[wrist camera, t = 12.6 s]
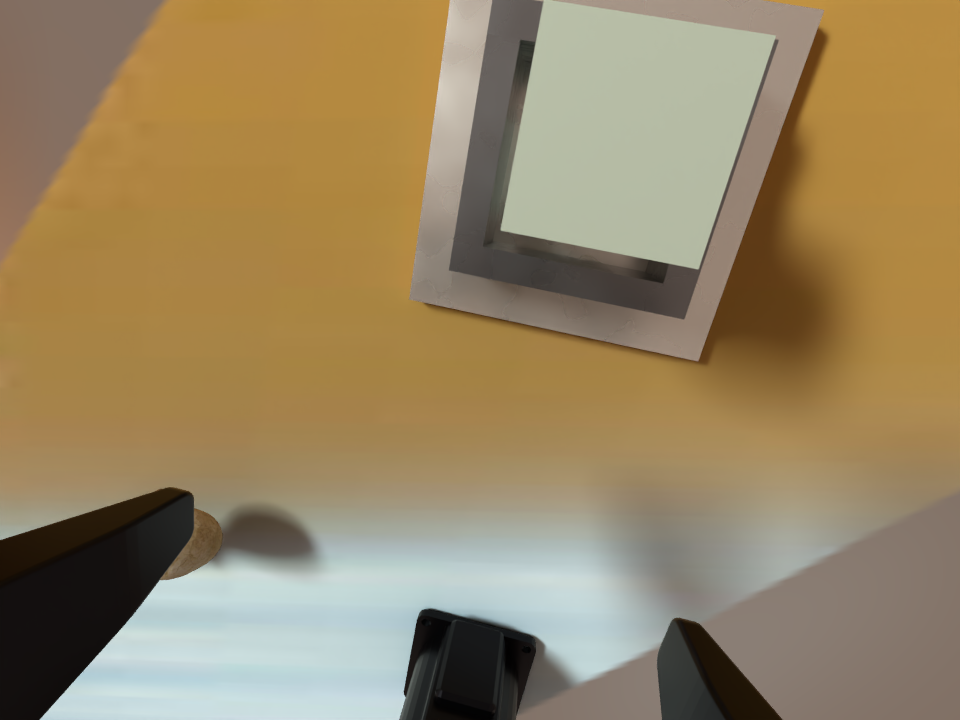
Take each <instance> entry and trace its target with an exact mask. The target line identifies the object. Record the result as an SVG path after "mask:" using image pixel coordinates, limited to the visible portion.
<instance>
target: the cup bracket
mask: <svg viewBox="0 0 960 720" xmlns="http://www.w3.org/2000/svg"><path fill="white" fill-rule="evenodd" d="M553 1H559V2H565V3H572V4H578V5H584V6H591V7H597V8H604V9H610V10H616V11H623V12H629V13H635V14H642V15H648V16H654V17H661V18H667V19H674V20H680V21H686V22H693V23H699V24H705V25H712V26H718V27H724V28H731V29H737V30H744V31H750V32H756V33H763V34H769V35H775V36H776V37H775V40H774V43H773V46H772V49H771V52H770V55H769V58H768V61H767V64H766V67H765V70H764V74H763V77H762V80H761V83H760V86H759V89H758V92H757V95H756V98H755V101H754V104H753V107H752V110H751V113H750V116H749V119H748V122H747V125H746V128H745V131H744V134H743V137H742V140H741V143H740V146H739V149H738V152H737V155H736V158H735V161H734V164H733V167H732V170H731V173H730V176H729V179H728V182H727V185H726V188H725V191H724V194H723V197H722V200H721V203H720V206H719V209H718V212H717V215H716V218H715V221H714V224H713V227H712V230H711V233H710V236H709V239H708V242H707V245H706V248H705V251H704V254H703V257H702V260H701V263H700V266H699V269H694V268H689V267H684V266H678V265H673V264H668V263H663V262H658V261H653V260H648V259H643V258H638V257H633V256H628V255H623V254H617V253H612V252H607V251H602V250H597V249H592V248H587V247H582V246H577V245H572V244H567V243H561V242H556V241H551V240H546V239H541V238H536V237H531V236H526V235H521V234H516V233H511V232H506V231H500V230H501V224H502V219H503V214H504V209H505V203H506V198H507V193H508V187H509V182H510V177H511V171H512V166H513V161H514V156H515V150H516V145H517V140H518V134H519V129H520V124H521V118H522V113H523V108H524V102H525V97H526V92H527V87H528V81H529V76H530V71H531V65H532V60H533V55H534V49H535V44H536V39H537V34H538V28H539V23H540V18H541V12H542V7H543V2H544V0H450V6H449V13H448V20H447V28H446V35H445V42H444V50H443V57H442V64H441V71H440V79H439V86H438V93H437V101H436V108H435V115H434V123H433V130H432V137H431V145H430V152H429V159H428V167H427V174H426V181H425V188H424V196H423V203H422V210H421V218H420V225H419V232H418V240H417V247H416V254H415V262H414V269H413V276H412V283H411V291H410V298H409V299H410V300H415V301H420V302H424V303H429V304H434V305H438V306H443V307H447V308H452V309H457V310H461V311H466V312H471V313H475V314H480V315H485V316H489V317H494V318H499V319H503V320H508V321H513V322H517V323H522V324H526V325H531V326H536V327H540V328H545V329H550V330H554V331H559V332H564V333H568V334H573V335H578V336H582V337H587V338H592V339H596V340H601V341H605V342H610V343H615V344H619V345H624V346H629V347H633V348H638V349H643V350H647V351H652V352H657V353H661V354H666V355H671V356H675V357H680V358H685V359H689V360H694V361H698V360H699V358H700V355H701V352H702V349H703V346H704V344H705V341H706V338H707V335H708V333H709V330H710V327H711V324H712V321H713V319H714V316H715V313H716V310H717V307H718V305H719V302H720V299H721V296H722V294H723V291H724V288H725V285H726V282H727V280H728V277H729V274H730V271H731V268H732V266H733V263H734V260H735V257H736V255H737V252H738V249H739V246H740V243H741V241H742V238H743V235H744V232H745V229H746V227H747V224H748V221H749V218H750V216H751V213H752V210H753V207H754V204H755V202H756V199H757V196H758V193H759V190H760V188H761V185H762V182H763V179H764V177H765V174H766V171H767V168H768V165H769V163H770V160H771V157H772V154H773V151H774V149H775V146H776V143H777V140H778V138H779V135H780V132H781V129H782V126H783V124H784V121H785V118H786V115H787V112H788V110H789V107H790V104H791V101H792V99H793V96H794V93H795V90H796V87H797V85H798V82H799V79H800V76H801V73H802V71H803V68H804V65H805V62H806V60H807V57H808V54H809V51H810V48H811V46H812V43H813V40H814V37H815V34H816V32H817V29H818V26H819V23H820V21H821V18H822V15H823V12H824V10H821V9H815V8H808V7H802V6H795V5H789V4H783V3H776V2H770V1H763V0H553Z"/></svg>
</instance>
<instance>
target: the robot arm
mask: <svg viewBox="0 0 960 720" xmlns="http://www.w3.org/2000/svg"><path fill="white" fill-rule="evenodd" d="M193 531H194V497H193V495H192V493H190V492H189V491H186V490H182V489H178V488H173V487H168V488H165V489H162V490H158V491H155V492H152V493H149V494H146V495H142V496H139V497H136V498H133V499H130V500H127V501H123V502H120V503H117V504H114V505H111V506H107V507H104V508H101V509H98V510H95V511H92V512H88V513H85V514H82V515H79V516H76V517H72V518H69V519H66V520H63V521H60V522H57V523H53V524H50V525H47V526H44V527H41V528H37V529H34V530H31V531H28V532H25V533H22V534H18V535H15V536H12V537H9V538H6V539H2V540H0V720H40V719H41V717H42V716H43V715H44V714H45V713H46V712H47V711H48V710H49V708H50V707H51V706H52V705H53V704H54V703H55V702H56V701H57V700H58V698H59V697H60V696H61V695H62V694H63V693H64V692H65V691H66V690H67V688H68V687H69V686H70V685H71V684H72V683H73V682H74V681H75V680H76V678H77V677H78V676H79V675H80V674H81V673H82V672H83V671H84V669H85V668H86V667H87V666H88V665H89V664H90V663H91V662H92V661H93V659H94V658H95V657H96V656H97V655H98V654H99V653H100V652H101V651H102V649H103V648H104V647H105V646H106V645H107V644H108V643H109V642H110V641H111V639H112V638H113V637H114V636H115V635H116V634H117V633H118V632H119V630H120V629H121V628H122V627H123V626H124V625H125V624H126V622H127V621H128V620H129V619H130V618H131V617H132V615H133V614H134V613H135V612H136V610H137V609H138V608H139V607H140V605H141V604H142V603H143V602H144V600H145V599H146V598H147V596H148V595H149V594H150V592H151V591H152V590H153V588H154V587H155V586H156V584H157V583H158V582H159V580H160V579H161V578H162V576H163V575H164V574H165V572H166V571H167V570H168V568H169V567H170V566H171V564H172V563H173V562H174V560H175V559H176V558H177V556H178V555H179V554H180V552H181V551H182V550H183V548H184V547H185V546H186V544H187V543H188V542H189V540H190V538H191V537H192V534H193ZM426 619H428V620H426ZM526 646H528V647H526ZM535 653H536V642H535V640H534V639H533V638H532V637H530V636H526V635H523V634H519V633H515V632H511V631H508V630H504V629H500V628H496V627H493V626H489V625H485V624H481V623H477V622H474V621H470V620H466V619H462V618H459V617H455V616H451V615H447V614H444V613H440V612H436V611H432V610H428V609H425V610H422V611H420V613H419V616H418V619H417V623H416V628H415V634H414V639H413V645H412V650H411V655H410V661H409V666H408V672H407V677H406V683H405V688H404V695H405V697H406V698H405V702H404V705H403V709H402V712H401V715H400V719H399V720H516V715H517V712H518V709H519V705H520V702H521V699H522V695H523V692H524V689H525V686H526V682H527V679H528V676H529V672H530V669H531V666H532V662H533V659H534V656H535ZM657 669H658V679H659V691H660V702H661V713H662V720H782V719H781V717H780V716H779V715H778V714H777V713H776V712H775V710H774V709H773V708H772V707H771V706H770V705H769V703H768V702H767V701H766V700H765V699H764V698H763V696H762V695H761V694H760V693H759V692H758V691H757V689H756V688H755V687H754V686H753V685H752V684H751V683H750V681H749V680H748V679H747V678H746V677H745V676H744V674H743V673H742V672H741V671H740V670H739V669H738V667H737V666H736V665H735V664H734V663H733V662H732V661H731V659H730V658H729V657H728V656H727V655H726V654H725V653H724V651H723V650H722V649H721V648H720V647H719V645H718V644H717V643H716V642H715V641H714V640H713V638H712V637H711V636H710V635H709V634H708V633H707V632H706V631H705V629H704V628H703V627H702V626H701V625H700V624H698V623H696V622H693V621H689V620H686V619H682V618H674V619H673V620H672V621H671V623H670V625H669V627H668V630H667V632H666V635H665V637H664V639H663V642H662V644H661V647H660V649H659V652H658V658H657Z"/></svg>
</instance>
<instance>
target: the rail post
mask: <svg viewBox="0 0 960 720" xmlns="http://www.w3.org/2000/svg"><path fill="white" fill-rule="evenodd" d="M775 37H776V36H775V35H769V34H763V33H756V32H750V31H744V30H737V29H731V28H724V27H718V26H712V25H705V24H699V23H693V22H686V21H680V20H674V19H667V18H661V17H654V16H648V15H642V14H635V13H629V12H623V11H616V10H610V9H604V8H597V7H591V6H584V5H578V4H572V3H565V2H559V1H553V0H544V2H543V7H542V12H541V18H540V23H539V28H538V34H537V39H536V44H535V49H534V55H533V60H532V65H531V71H530V76H529V81H528V87H527V92H526V97H525V102H524V108H523V113H522V118H521V124H520V129H519V134H518V140H517V145H516V150H515V156H514V161H513V166H512V171H511V177H510V182H509V187H508V193H507V198H506V203H505V209H504V214H503V219H502V224H501V230H500V231H506V232H511V233H516V234H521V235H526V236H531V237H536V238H541V239H546V240H551V241H556V242H561V243H567V244H572V245H577V246H582V247H587V248H592V249H597V250H602V251H607V252H612V253H617V254H623V255H628V256H633V257H638V258H643V259H648V260H653V261H658V262H663V263H668V264H673V265H678V266H684V267H689V268H694V269H699V266H700V263H701V260H702V257H703V254H704V251H705V248H706V245H707V242H708V239H709V236H710V233H711V230H712V227H713V224H714V221H715V218H716V215H717V212H718V209H719V206H720V203H721V200H722V197H723V194H724V191H725V188H726V185H727V182H728V179H729V176H730V173H731V170H732V167H733V164H734V161H735V158H736V155H737V152H738V149H739V146H740V143H741V140H742V137H743V134H744V131H745V128H746V125H747V122H748V119H749V116H750V113H751V110H752V107H753V104H754V101H755V98H756V95H757V92H758V89H759V86H760V83H761V80H762V77H763V74H764V70H765V67H766V64H767V61H768V58H769V55H770V52H771V49H772V46H773V43H774V40H775Z"/></svg>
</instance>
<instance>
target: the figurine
mask: <svg viewBox="0 0 960 720" xmlns="http://www.w3.org/2000/svg"><path fill="white" fill-rule="evenodd" d="M159 490H162V489H159ZM157 491H158V490H157ZM222 538H223V534H222V530H221V528H220V526H219V524H218V522H217V521H216V520H215V518H214V517H212V516H211V515H210V514H208V513H206V512H203V511H201V510H198V509H195V508H194V531H193V534H192V537H191V538H190V540H189V542H188V543H187V544H186V546H185V547H184V548H183V550H182V551H181V552H180V554H179V555H178V556H177V558H176V559H175V560H174V562H173V563H172V564H171V566H170V567H169V568H168V570H167V571H166V572H165V574H164V575H163V576H162V578H161V579H160V580H170V579H174V578H178V577H181V576H184V575H186V574H188V573H190V572H192V571H194V570H196V569H198V568H200V567H201V566H203V565H205V564H207V563H208V562H209V561H210V560H211V559H212V558H213V557H214V556H215V555H216V554H217V552H218V551H219V549H220V547H221V544H222Z"/></svg>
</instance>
